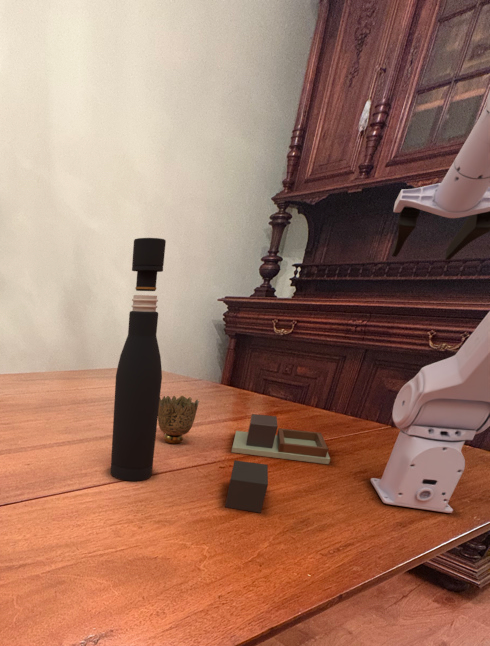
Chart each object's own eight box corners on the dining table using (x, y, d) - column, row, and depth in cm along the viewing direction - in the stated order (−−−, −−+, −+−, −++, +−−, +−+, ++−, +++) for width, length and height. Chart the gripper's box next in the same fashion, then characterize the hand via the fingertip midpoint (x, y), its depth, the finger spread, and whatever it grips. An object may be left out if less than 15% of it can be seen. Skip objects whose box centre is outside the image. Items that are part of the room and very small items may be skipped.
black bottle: (150, 483, 63) (176, 236, 48) (107, 479, 64) (120, 236, 49) (152, 468, 68) (177, 242, 54) (113, 465, 69) (126, 242, 55)
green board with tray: (328, 464, 72) (338, 435, 70) (231, 452, 77) (236, 424, 74) (321, 445, 82) (329, 419, 80) (235, 435, 87) (240, 410, 84)
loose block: (260, 513, 55) (268, 484, 53) (224, 507, 56) (230, 479, 54) (261, 490, 61) (267, 464, 59) (229, 486, 63) (234, 460, 61)
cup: (146, 438, 83) (150, 396, 79) (177, 434, 86) (182, 394, 82) (168, 449, 77) (173, 404, 73) (200, 445, 80) (207, 401, 76)
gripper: (547, 139, 55) (475, 235, 68) (421, 139, 59) (375, 231, 72) (543, 181, 54) (470, 272, 67) (414, 179, 58) (369, 265, 70)
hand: (421, 253), depth 69 cm, fingers open, 7 cm apart
